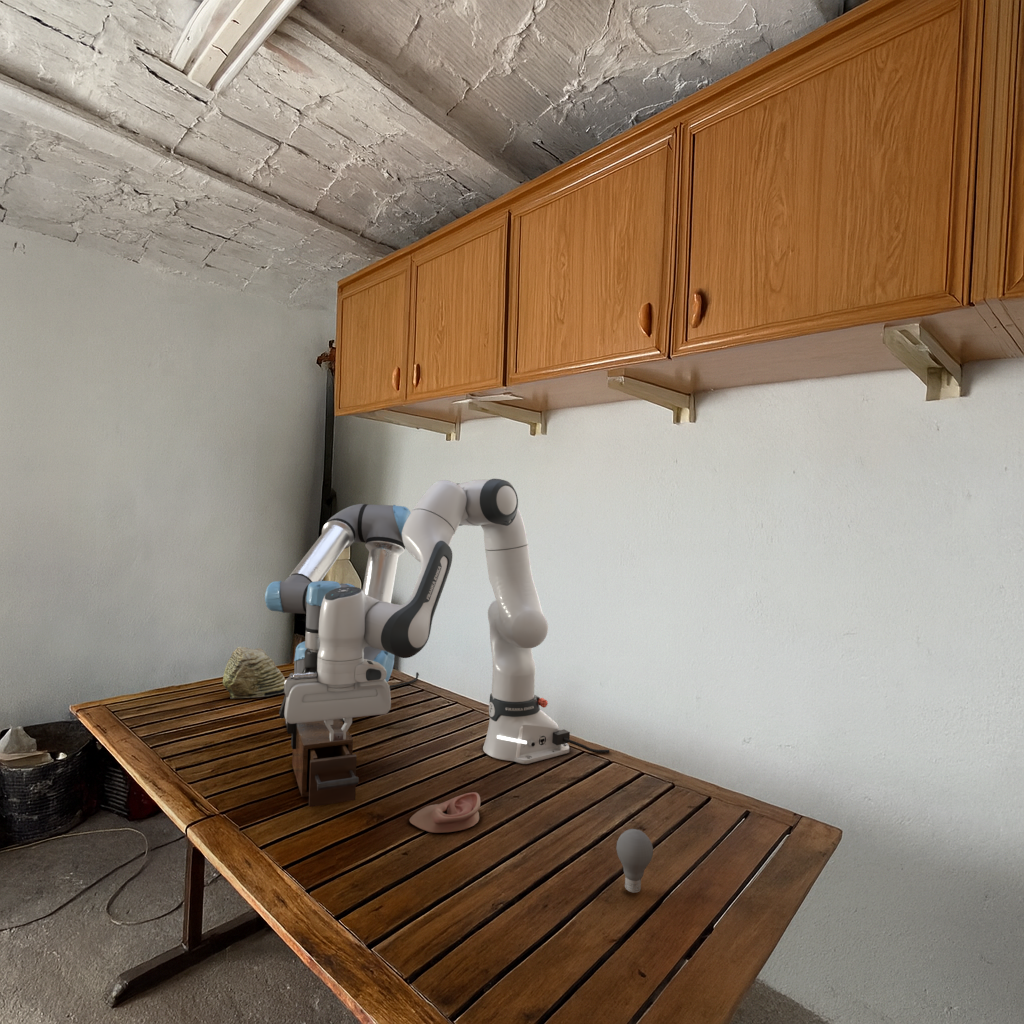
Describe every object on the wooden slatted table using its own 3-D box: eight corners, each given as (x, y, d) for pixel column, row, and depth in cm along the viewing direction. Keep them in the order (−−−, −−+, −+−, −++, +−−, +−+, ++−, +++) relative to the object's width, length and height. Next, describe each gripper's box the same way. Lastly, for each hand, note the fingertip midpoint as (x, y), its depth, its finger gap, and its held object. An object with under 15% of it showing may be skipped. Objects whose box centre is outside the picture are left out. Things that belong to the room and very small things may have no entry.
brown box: (351, 789, 136) (352, 739, 137) (301, 797, 132) (303, 745, 132) (336, 759, 153) (338, 714, 153) (292, 765, 149) (293, 718, 149)
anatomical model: (404, 808, 122) (424, 782, 133) (403, 828, 122) (423, 801, 133) (470, 818, 119) (485, 791, 131) (469, 838, 119) (484, 810, 131)
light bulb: (610, 879, 108) (613, 822, 108) (644, 879, 109) (647, 822, 109) (619, 902, 102) (622, 840, 102) (655, 901, 103) (658, 840, 103)
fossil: (218, 695, 195) (220, 647, 195) (278, 685, 208) (279, 640, 207) (228, 703, 189) (230, 653, 188) (289, 692, 201) (290, 645, 201)
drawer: (361, 812, 125) (362, 766, 125) (313, 820, 121) (314, 773, 121) (340, 769, 145) (342, 729, 145) (299, 774, 141) (300, 734, 141)
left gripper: (270, 655, 138) (266, 756, 138) (374, 649, 148) (371, 743, 148) (268, 648, 145) (264, 744, 145) (367, 642, 155) (364, 732, 155)
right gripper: (286, 678, 118) (283, 752, 118) (394, 670, 126) (391, 739, 127) (283, 669, 123) (280, 740, 124) (386, 662, 132) (384, 728, 132)
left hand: (318, 744), depth 147 cm, fingers closed on brown box, 10 cm apart
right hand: (337, 739), depth 125 cm, fingers closed
